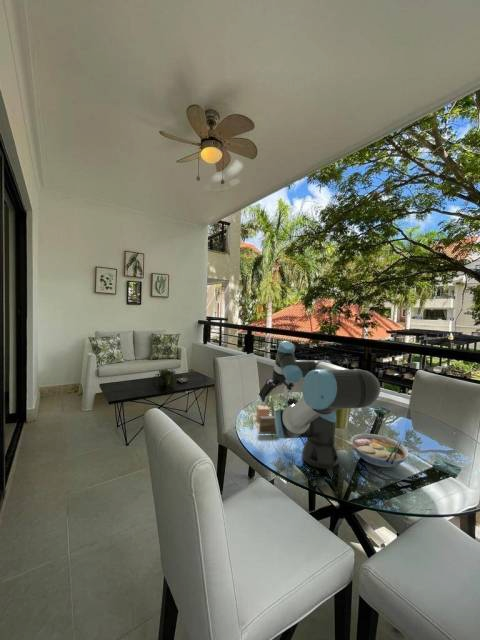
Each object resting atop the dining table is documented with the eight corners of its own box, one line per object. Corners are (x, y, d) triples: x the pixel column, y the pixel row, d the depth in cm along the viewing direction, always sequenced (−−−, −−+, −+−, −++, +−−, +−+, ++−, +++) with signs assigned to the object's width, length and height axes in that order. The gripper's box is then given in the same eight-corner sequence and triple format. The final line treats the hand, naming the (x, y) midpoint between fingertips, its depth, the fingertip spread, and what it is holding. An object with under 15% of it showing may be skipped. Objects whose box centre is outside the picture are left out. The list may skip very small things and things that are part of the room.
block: (268, 419, 166) (269, 409, 166) (258, 419, 165) (259, 409, 165) (266, 415, 172) (267, 405, 172) (256, 415, 171) (257, 405, 171)
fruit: (310, 397, 181) (286, 395, 182) (312, 406, 174) (287, 403, 175) (309, 408, 184) (285, 406, 186) (310, 417, 177) (285, 415, 178)
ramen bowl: (359, 442, 144) (360, 426, 143) (412, 460, 129) (414, 442, 129) (340, 463, 124) (342, 445, 124) (400, 487, 110) (402, 466, 109)
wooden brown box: (281, 432, 152) (281, 418, 151) (258, 432, 150) (259, 418, 150) (270, 414, 175) (270, 401, 175) (250, 414, 174) (251, 402, 173)
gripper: (296, 359, 150) (288, 389, 161) (255, 371, 138) (250, 402, 149) (306, 368, 144) (297, 398, 155) (263, 382, 133) (257, 413, 144)
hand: (274, 400), depth 152 cm, fingers open, 13 cm apart
